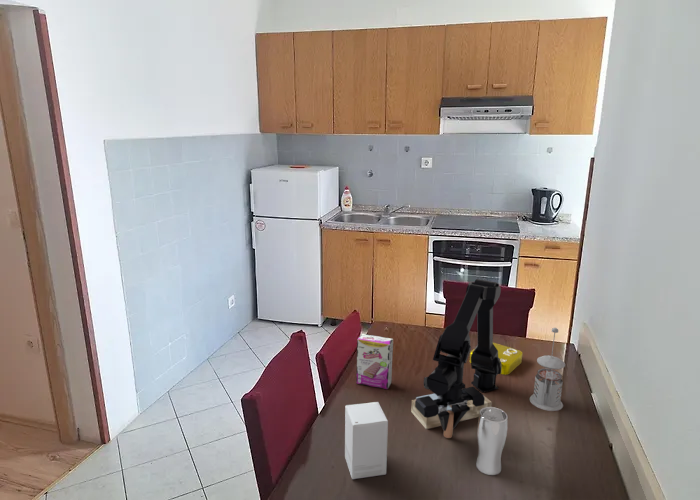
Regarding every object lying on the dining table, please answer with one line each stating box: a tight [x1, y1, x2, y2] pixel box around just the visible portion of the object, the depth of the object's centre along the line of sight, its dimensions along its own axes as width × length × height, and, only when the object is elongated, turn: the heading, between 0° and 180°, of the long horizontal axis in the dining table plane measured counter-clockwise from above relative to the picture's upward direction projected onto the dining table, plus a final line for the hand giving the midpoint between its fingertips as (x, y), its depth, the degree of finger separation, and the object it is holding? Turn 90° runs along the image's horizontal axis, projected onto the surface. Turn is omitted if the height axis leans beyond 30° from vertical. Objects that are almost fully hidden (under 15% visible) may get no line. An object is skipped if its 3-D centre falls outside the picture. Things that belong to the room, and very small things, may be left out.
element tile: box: [469, 341, 523, 376], centre depth 174 cm, size 15×15×5 cm
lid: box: [415, 393, 452, 411], centre depth 138 cm, size 7×9×3 cm
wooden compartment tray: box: [410, 395, 493, 430], centre depth 141 cm, size 22×9×4 cm, turn 111°
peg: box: [443, 410, 454, 439], centre depth 130 cm, size 2×2×7 cm
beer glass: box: [475, 406, 509, 476], centre depth 117 cm, size 7×7×15 cm
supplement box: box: [344, 401, 389, 480], centre depth 117 cm, size 9×9×15 cm
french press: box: [529, 327, 566, 412], centre depth 144 cm, size 10×12×25 cm
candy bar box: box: [355, 333, 394, 390], centre depth 156 cm, size 11×5×16 cm, turn 71°
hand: (448, 428), depth 130 cm, fingers closed on peg, 2 cm apart
